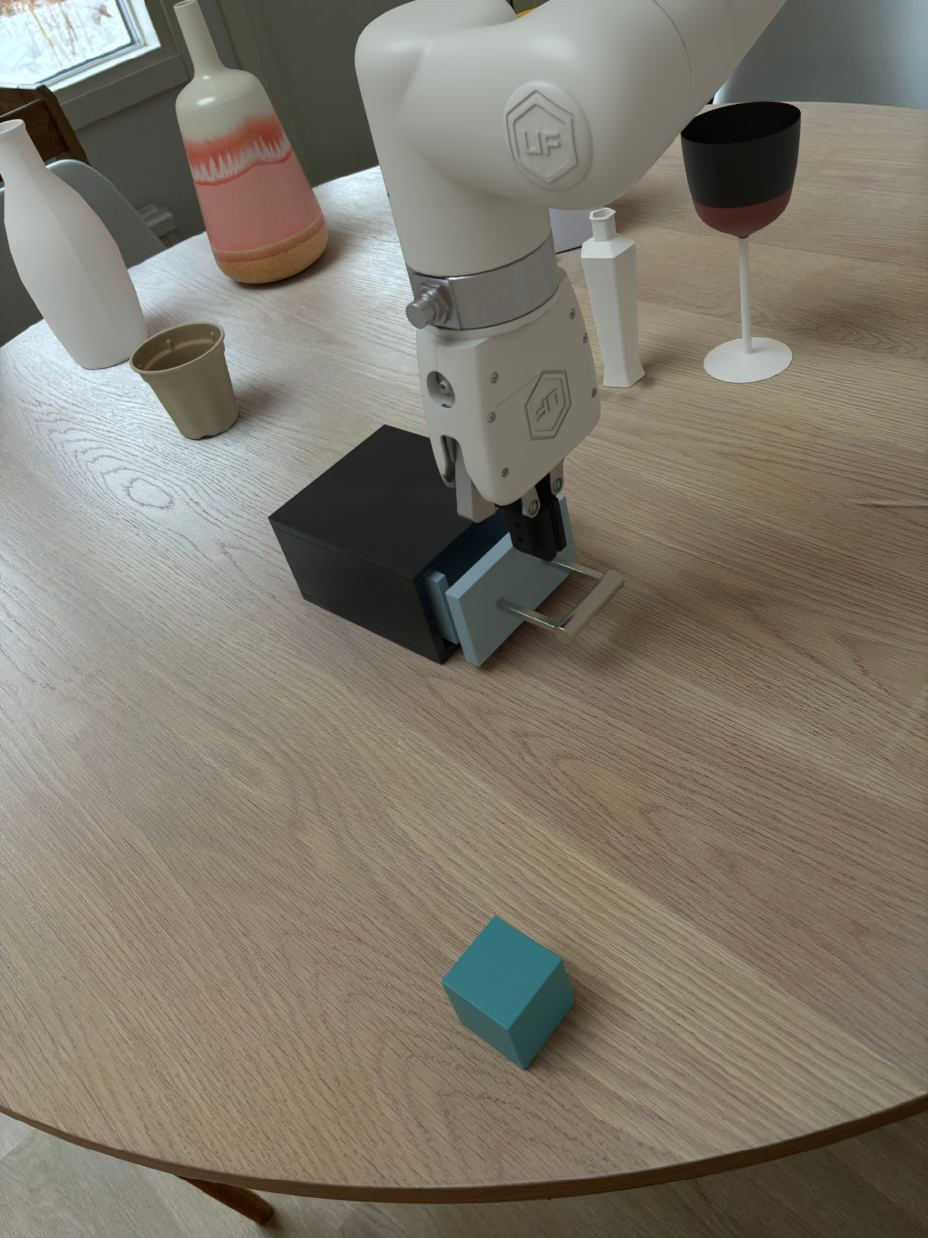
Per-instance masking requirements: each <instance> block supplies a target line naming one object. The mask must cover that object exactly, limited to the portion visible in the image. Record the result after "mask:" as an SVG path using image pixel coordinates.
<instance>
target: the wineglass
mask: <svg viewBox="0 0 928 1238" xmlns="http://www.w3.org/2000/svg"><path fill="white" fill-rule="evenodd" d="M801 123H802V111H801V109H800V108H799V107H797V106H795V105H794V104H792V103H787V102H782V101H773V100H769V101H768V100H761V101H747V102H746V101H745V102H740V103H734V104H729V105H724V106H720V107H717V108H712V109H711V110H707V111H705V112H702V113H700V114H697V115H696V116H695V117H694V118H693V119H692V120H691V121H690V123H689V124H688V125H687V126H686V127H685V128H684V129H683V130H682V131H681V132H680V134H679V136H680V143H681V144H680V145H681V152H682V158H683V165H684V173H685V177H686V181H687V185H688V189H689V192H690V193H689V194H690V196H691V200H692V204H693V208H694V210H695V212H696V215H697V216H698V217H699V219H700V220H701V221H702V222H703V223H704V224H705V225H706V226H707V227H709V228H710V229H713V230H715V231H718V232H720V233H723V234H726V235H730V236H734V237H737V238H738V262H739V287H740V289H739V290H740V315H741V317H740V318H741V319H740V320H741V337H740V338H736V339H732V340H729V341H725V342H724V343H722V344H719V345H717V346H715V347H714V348H712V349H711V350H710V351H709V352H708V353H707V354H706V355H705V357H704V359H703V369H704V370H705V372H706V373H707V374H708V375H709V376H710V377H712V378H714V379H716V380H720V381H722V382H726V383H737V384H745V383H756V382H760V381H764V380H767V379H771V378H772V377H775V376H777V375H779V374H781V373H782V372H783V371H784V370H786V369H787V368H788V367H789V366H790V364H791V362H792V360H793V351H792V349H790V347H789V346H788V345H787V344H786V343H783V342H781V341H780V340H778V339H774V338H770V337H764V336H763V337H762V336H752V318H751V285H750V284H751V283H750V258H749V257H750V251H749V250H750V248H749V247H750V246H749V237H750V236H751V235H753V234H754V233H756V232H758V231H760V230H763V229H765V228H766V227H768V226H769V225H770V224H772V223H774V222H775V221H776V220H777V219H778V218H779V217H780V216H781V215H782V214H783V213H784V212H785V210H786V208H787V207H788V205H789V203H790V201H791V197H792V193H793V189H794V182H795V178H796V174H797V173H796V172H797V168H798V162H799V153H800V152H799V151H800V142H801V126H802V124H801Z"/></svg>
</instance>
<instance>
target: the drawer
mask: <svg viewBox="0 0 928 1238" xmlns="http://www.w3.org/2000/svg"><path fill="white" fill-rule="evenodd" d="M556 497H557V498H559V503H560V509H561V514H562V520H563V525H564V531H565V536H566V542H567V546H566V547H565V548H564V549H563V550H562V551H561V552H557V556H556V557H555V558H554V559H553V560H552V561H551V562H548V561H545V560H542V559H540V558H537V557H534V556H532V555H529V554H526V553H523V552H521V551H518V550H516V549H515V548H514V547H513V545H512V542H511V537H510V533H509V529H508V524H507V520H506V516H505V511H504V510H503V509H499V510H498V511H497V512H496V513H495V514H493V515H492V516H491V517H490V518H489V519H488V520H487V521H486V522H485V523H484V524H483V525H482V526H480V527H479V528H478V529H477V530H476V531H475V532H474V533H473V534H472V535H471V536H470V537H469V538H468V539H466V540H465V541H464V542H463V543H462V544H461V545H460V546H459V547H458V548H457V549H456V550H455V551H453V552H452V553H451V554H450V555H449V556H448V557H447V558H446V559H445V560H444V561H443V562H442V563H441V564H439V565H438V566H437V567H436V568H435V569H434V570H433V571H432V572H431V573H430V574H429V575H428V576H427V577H425V578H424V579H423V582H424V585H425V588H426V591H427V594H428V598H429V601H430V604H431V607H432V610H433V613H434V616H435V619H436V622H437V625H438V628H439V631H440V634H441V637H442V638H444V639H446V640H449V641H451V642H453V643H455V644H458V643H459V642H460V643H461V646H460V647H461V649H462V652H463V655H464V659H465V661H466V662H468V663H470V664H472V665H474V666H477V667H481V666H482V664H483V663H485V662H486V660H488V658H489V657H490V656H491V655H492V654H493V653H494V652H495V651H496V650H497V649H498V648H499V647H500V646H501V645H502V644H503V643H504V642H505V641H506V640H507V639H508V638H509V636H511V635H512V634H513V633H514V632H515V631H516V630H517V629H518V627H519V626H520V625H522V624H523V623H524V621H525V622H527V623H530V624H532V625H534V626H537V627H540V628H542V629H544V630H546V631H548V632H549V631H550V632H551V633H553V634H554V636H555V638H556V639H557V640H558V641H559V642H560V643H562V644H564V645H570V644H572V643H573V642H574V640H575V639H576V638H577V637H578V636H579V635H580V634H581V633H582V632H583V631H584V630H585V629H586V628H587V626H588V625H589V624H590V623H592V621H593V620H594V619H595V618H596V617H597V615H598V614H599V613H600V612H601V611H602V610H604V608H605V607H606V606H607V605H608V604H609V603H610V602H611V601H612V600H613V598H614V597H615V596H616V595H617V594H618V593H619V592H620V591H621V590H622V588H623V587H624V586H625V584H626V583H625V582H626V581H625V578H624V577H623V575H622V574H621V573H620V572H618V571H617V570H613V569H610V570H608V571H607V572H606V573H603V572H601V571H598V570H595V569H592V568H589V567H587V566H584V565H581V564H579V561H578V556H577V550H576V545H575V540H574V534H573V529H572V524H571V518H570V513H569V508H568V501H567V496H566V495H565V494H562V493H559V494H558V495H556ZM569 575H572V576H575V577H577V578H580V579H583V580H585V581H588V582H591V583H594V585H593V586H592V588H591V589H590V590H588V592H587V593H586V594H585V595H584V596H583V597H582V598H581V599H580V600H579V601H578V602H577V603H576V604H575V605H574V607H573V608H572V609H570V611H569V612H568V613H567V614H565V616H564V617H563V618H562V619H561V620H560V621H559V620H557V619H555V618H552V617H550V616H548V615H545V614H543V613H540V612H537V611H536V609H537V608H538V607H539V606H540V605H541V604H542V603H543V602H544V601H545V600H546V599H547V598H548V597H549V595H551V594H552V593H553V592H554V590H556V589H557V587H558V586H560V585H561V583H562V582H564V580H566V579H567V577H568V576H569Z"/></svg>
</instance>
